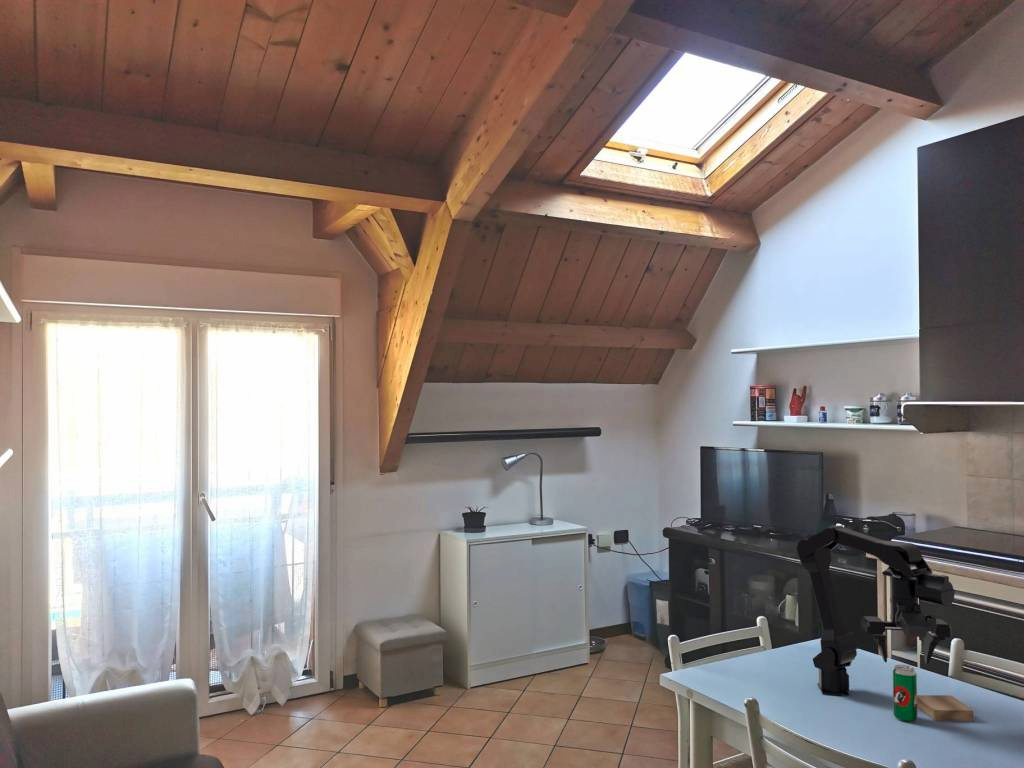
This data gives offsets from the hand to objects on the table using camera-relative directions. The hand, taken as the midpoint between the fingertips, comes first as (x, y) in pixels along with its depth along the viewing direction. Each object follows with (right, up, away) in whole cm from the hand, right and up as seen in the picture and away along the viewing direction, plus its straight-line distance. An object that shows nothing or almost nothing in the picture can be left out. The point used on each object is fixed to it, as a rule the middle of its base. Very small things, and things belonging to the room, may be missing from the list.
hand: (905, 662), depth 178 cm
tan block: (+10, -13, +2) cm, 17 cm away
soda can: (0, -13, -1) cm, 13 cm away
